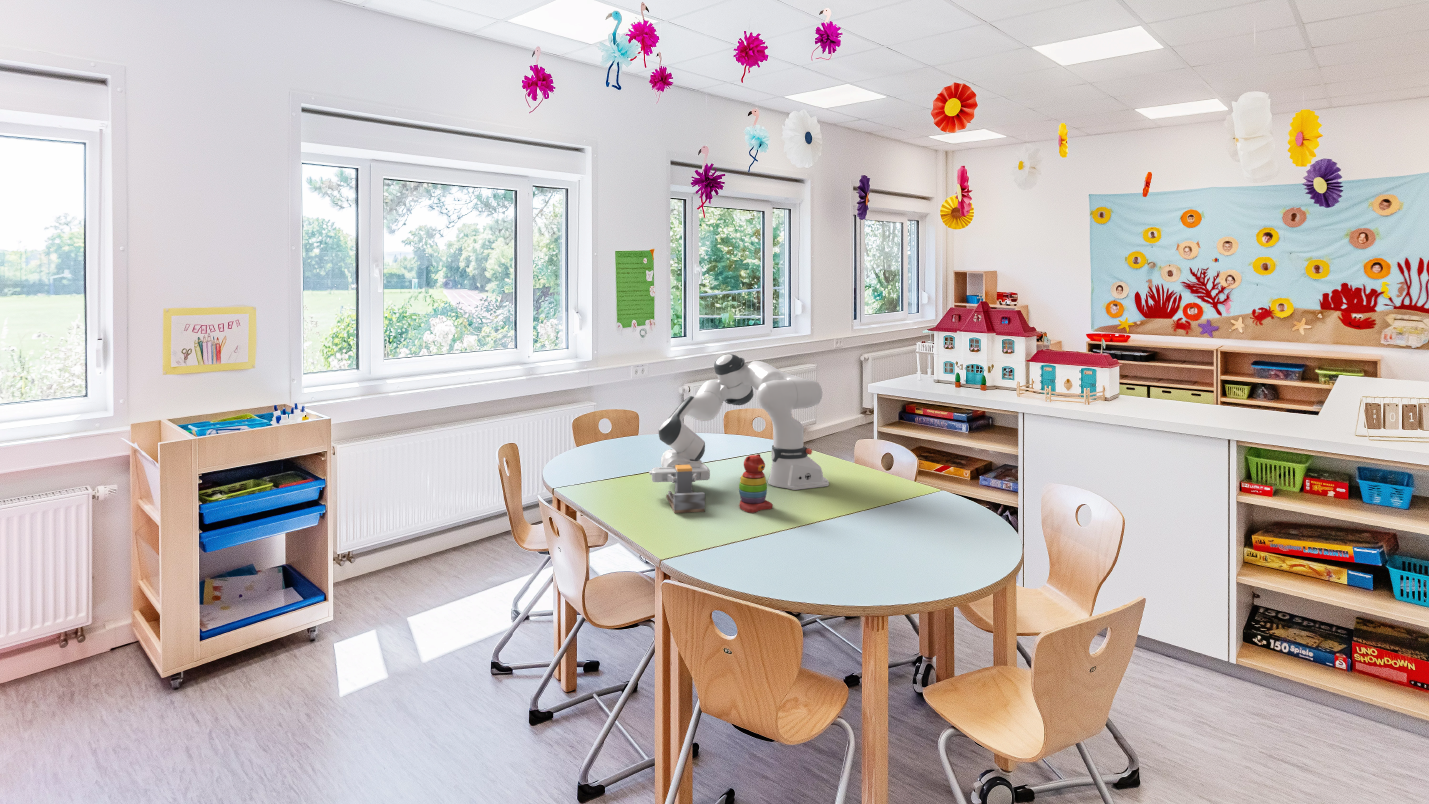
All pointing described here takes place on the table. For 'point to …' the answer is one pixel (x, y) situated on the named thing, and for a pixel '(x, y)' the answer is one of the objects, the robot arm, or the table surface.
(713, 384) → the robot arm
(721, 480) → the table surface
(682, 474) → the grey tall block
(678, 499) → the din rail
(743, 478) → the stacking bear
